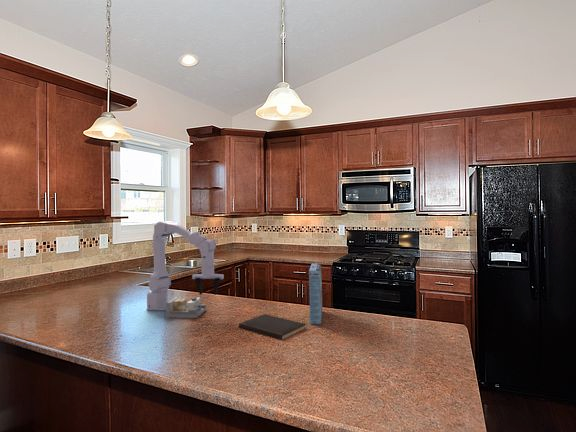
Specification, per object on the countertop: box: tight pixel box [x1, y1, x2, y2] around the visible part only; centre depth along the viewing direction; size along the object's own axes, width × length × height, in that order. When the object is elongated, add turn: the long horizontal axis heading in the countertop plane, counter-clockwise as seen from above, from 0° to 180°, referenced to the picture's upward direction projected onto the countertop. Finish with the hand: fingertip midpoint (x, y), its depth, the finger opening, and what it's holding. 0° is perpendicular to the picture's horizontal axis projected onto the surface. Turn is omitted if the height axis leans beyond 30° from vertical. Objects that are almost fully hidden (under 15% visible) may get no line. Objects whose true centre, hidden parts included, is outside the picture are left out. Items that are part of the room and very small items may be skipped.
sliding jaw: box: [187, 296, 202, 311], centre depth 164 cm, size 3×9×6 cm, turn 174°
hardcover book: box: [238, 313, 307, 341], centre depth 144 cm, size 16×23×2 cm
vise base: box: [164, 296, 207, 319], centre depth 165 cm, size 15×12×6 cm
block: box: [174, 298, 188, 311], centre depth 165 cm, size 4×5×5 cm
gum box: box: [308, 263, 323, 325], centre depth 156 cm, size 20×5×23 cm, turn 172°
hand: (208, 294), depth 163 cm, fingers open, 6 cm apart
